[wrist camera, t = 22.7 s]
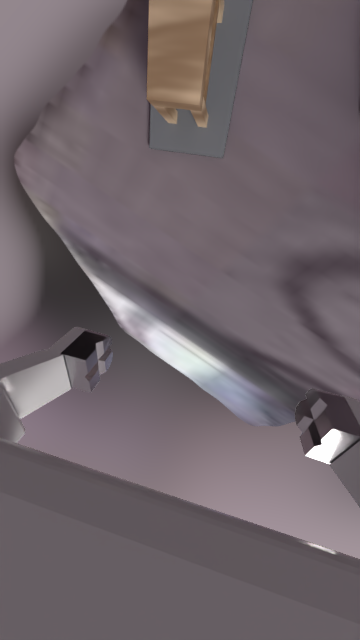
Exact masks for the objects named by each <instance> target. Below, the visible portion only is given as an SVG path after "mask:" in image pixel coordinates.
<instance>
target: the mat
mask: <svg viewBox="0 0 360 640" xmlns="http://www.w3.org/2000/svg"><path fill="white" fill-rule="evenodd" d="M252 3H253V0H224V11H223V18H222V23H217V25H216V32H215V40H214V47H213V54H212V62H211V69H210V77H209V84H208V91H207V99H206V109H207V112H208V122H207V128H206V127H198V125H197V123H196V121H195V119H194V117H193V115H192V113H191V111H190V110H185V109H176V108H175V109H176V110H177V112H178V116H177V124H172V123H168V122H167V121H166V120H165V119H164V118H163V116H162V115H161V114H160V113H159V112H158V111H157V110H156V109H155V108H154V106H152V105H151V111H150V145H149V148H151V149H157V150H164V151H172V152H179V153H187V154H195V155H202V156H210V157H217V158H223V157H224V151H225V146H226V141H227V135H228V130H229V125H230V119H231V114H232V109H233V104H234V98H235V93H236V88H237V82H238V77H239V72H240V66H241V61H242V56H243V50H244V45H245V40H246V34H247V29H248V24H249V18H250V13H251V8H252Z"/></svg>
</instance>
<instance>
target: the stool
mask: <svg viewBox="0 0 360 640" xmlns="http://www.w3.org/2000/svg"><path fill="white" fill-rule="evenodd" d="M223 11H224V0H149V23H148V66H147V100H148V101H149V102H150V103H151V105H152V106H154V108H155V109H156V110H157V111H158V112H159V113H160V114H161V115H162V116H163V118H164V119H165V120H166V121H167V122H168V123H172V124H177V116H178V112H177V110H176V109H185V110H190V111H191V113H192V115H193V117H194V119H195V121H196V123H197V125H198V127H206V128H207V122H208V112H207V109H206V99H207V91H208V84H209V77H210V69H211V62H212V54H213V47H214V40H215V32H216V25H217V23H222V18H223ZM175 108H176V109H175Z"/></svg>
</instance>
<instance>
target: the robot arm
mask: <svg viewBox="0 0 360 640" xmlns="http://www.w3.org/2000/svg"><path fill="white" fill-rule="evenodd" d="M111 344H112V340H111V337H110V336H108V335H105V334H101V333H98V332H94V331H91V330H86V329H83V328H80V327H75V328H73V329H72V330H70V331H69V332H68V333H67V334H66V335H64V336H63V337H62V338H61V339H60V340H59V341H58V342H56V343H55V344H54V345H53V346H51V347H50V349H48V350H41V351H37V352H34V353H31V354H29V355H25V356H22V357H19V358H16V359H13V360H10V361H7V362H4V363H1V364H0V640H360V559H358V558H355V557H352V556H349V555H346V554H343V553H340V552H337V551H334V550H331V549H328V548H326V547H323V546H320V545H316V544H314V543H311V542H308V541H305V540H302V539H299V538H296V537H293V536H290V535H287V534H284V533H281V532H278V531H275V530H272V529H269V528H266V527H263V526H260V525H257V524H254V523H251V522H248V521H245V520H243V519H240V518H237V517H234V516H230V515H227V514H225V513H221V512H219V511H216V510H213V509H210V508H207V507H204V506H201V505H198V504H195V503H192V502H189V501H186V500H183V499H180V498H177V497H174V496H171V495H168V494H165V493H163V492H160V491H156V490H154V489H151V488H148V487H145V486H141V485H139V484H136V483H133V482H130V481H127V480H124V479H121V478H118V477H115V476H112V475H109V474H106V473H103V472H100V471H97V470H94V469H91V468H88V467H85V466H82V465H80V464H77V463H73V462H70V461H68V460H65V459H62V458H59V457H56V456H53V455H50V454H47V453H44V452H41V451H38V450H35V449H32V448H29V447H26V446H23V445H20V444H17V442H18V441H19V440H20V439H21V438H22V436H23V435H24V434H25V428H24V426H23V424H22V422H21V420H20V419H21V418H23V417H25V416H26V415H28V414H30V413H31V412H33V411H35V410H36V409H38V408H40V407H41V406H43V405H45V404H46V403H48V402H50V401H52V400H53V399H55V398H57V397H58V396H60V395H62V394H63V393H65V392H67V391H68V390H70V389H71V388H75V389H78V390H83V391H86V392H90V393H91V392H92V390H93V389H94V388H95V386H96V385H97V384H98V382H99V381H100V374H102V373H105V372H106V371H107V369H108V368H109V366H110V364H111V361H112V356H113V352H112V350H111V349H110V347H109V346H110V345H111ZM305 395H306V398H307V399H305V400H302V401H300V402H299V403H298V405H297V406H296V410H295V421H296V425H297V426H298V428H299V429H300V430H301V431H302V434H301V436H300V440H301V443H302V447H303V451H304V454H305V456H307V457H310V458H313V459H317V460H319V461H323V462H326V463H329V464H330V466H331V468H332V469H333V471H334V472H335V473H336V474H337V476H338V478H339V479H340V480H341V482H342V483H343V485H344V486H345V487H346V489H347V490H348V491H349V493H350V494H351V496H352V497H353V498H354V500H355V501H356V503H357V504H358V506H359V507H360V402H359V401H358V400H357V399H354V398H350V397H346V396H340V395H337V394H333V393H329V392H325V391H321V390H317V389H313V388H312V389H310V390H308V392H307V393H306V394H305Z"/></svg>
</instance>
